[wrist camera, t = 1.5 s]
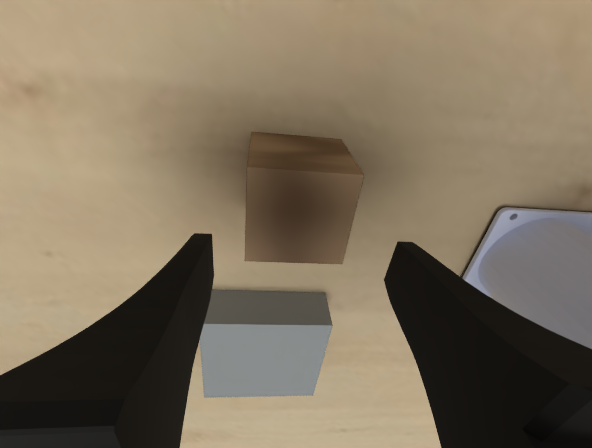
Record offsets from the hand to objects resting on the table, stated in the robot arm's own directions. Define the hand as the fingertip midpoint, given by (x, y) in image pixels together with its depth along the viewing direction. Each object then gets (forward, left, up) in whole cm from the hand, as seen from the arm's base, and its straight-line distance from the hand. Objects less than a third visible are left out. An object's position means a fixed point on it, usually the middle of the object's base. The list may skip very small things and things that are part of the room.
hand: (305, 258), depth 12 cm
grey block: (+1, +14, -8) cm, 16 cm away
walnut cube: (0, 0, -8) cm, 8 cm away
